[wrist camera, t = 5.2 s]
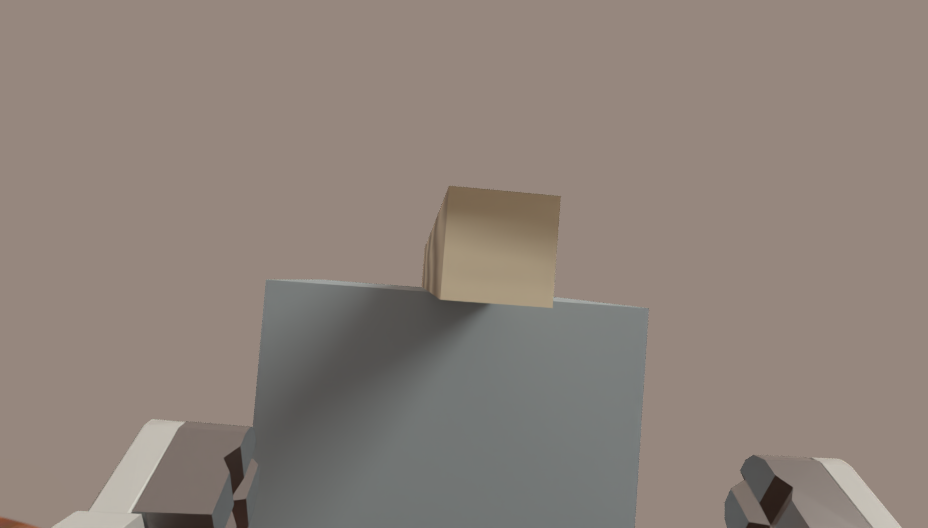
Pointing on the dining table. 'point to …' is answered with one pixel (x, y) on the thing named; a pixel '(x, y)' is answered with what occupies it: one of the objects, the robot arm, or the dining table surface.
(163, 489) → the robot arm
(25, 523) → the dining table surface
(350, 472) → the podium
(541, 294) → the birch rod
